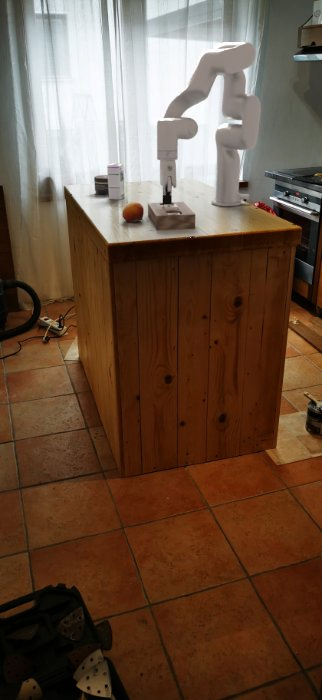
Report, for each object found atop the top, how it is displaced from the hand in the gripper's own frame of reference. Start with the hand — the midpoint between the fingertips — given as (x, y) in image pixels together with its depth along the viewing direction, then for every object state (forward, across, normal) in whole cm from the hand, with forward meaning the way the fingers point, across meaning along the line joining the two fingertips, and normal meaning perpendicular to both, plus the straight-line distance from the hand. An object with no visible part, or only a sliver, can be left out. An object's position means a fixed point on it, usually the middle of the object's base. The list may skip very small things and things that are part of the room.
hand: (167, 205), depth 213 cm
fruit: (+5, -3, +13) cm, 14 cm away
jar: (+5, +53, +20) cm, 57 cm away
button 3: (+2, -14, 0) cm, 14 cm away
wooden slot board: (+5, -7, 0) cm, 8 cm away
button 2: (+1, -7, 0) cm, 7 cm away
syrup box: (+5, +41, +16) cm, 44 cm away
